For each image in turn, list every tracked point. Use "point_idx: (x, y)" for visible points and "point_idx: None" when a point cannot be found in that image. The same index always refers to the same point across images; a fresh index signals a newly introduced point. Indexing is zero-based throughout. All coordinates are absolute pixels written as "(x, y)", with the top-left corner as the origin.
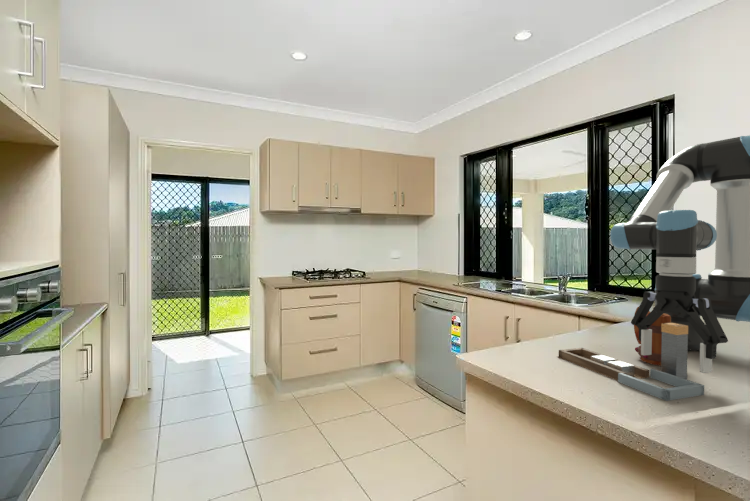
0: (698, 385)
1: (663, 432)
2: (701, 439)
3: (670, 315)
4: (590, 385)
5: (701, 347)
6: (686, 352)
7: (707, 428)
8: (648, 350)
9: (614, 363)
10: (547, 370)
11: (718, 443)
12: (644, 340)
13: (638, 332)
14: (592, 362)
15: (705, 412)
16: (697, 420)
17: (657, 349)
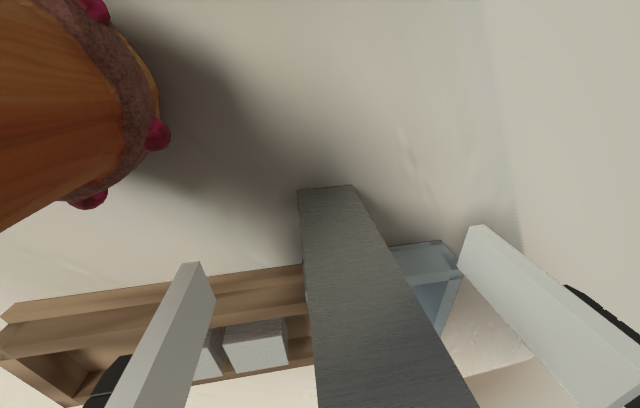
0: (457, 282)
1: (460, 365)
2: (495, 344)
3: None
4: (298, 371)
5: (567, 382)
6: (403, 282)
7: (491, 322)
8: (198, 299)
9: (254, 366)
10: (199, 399)
11: (512, 336)
12: (186, 388)
13: None
14: (214, 381)
15: (469, 288)
16: (473, 317)
17: (88, 174)
